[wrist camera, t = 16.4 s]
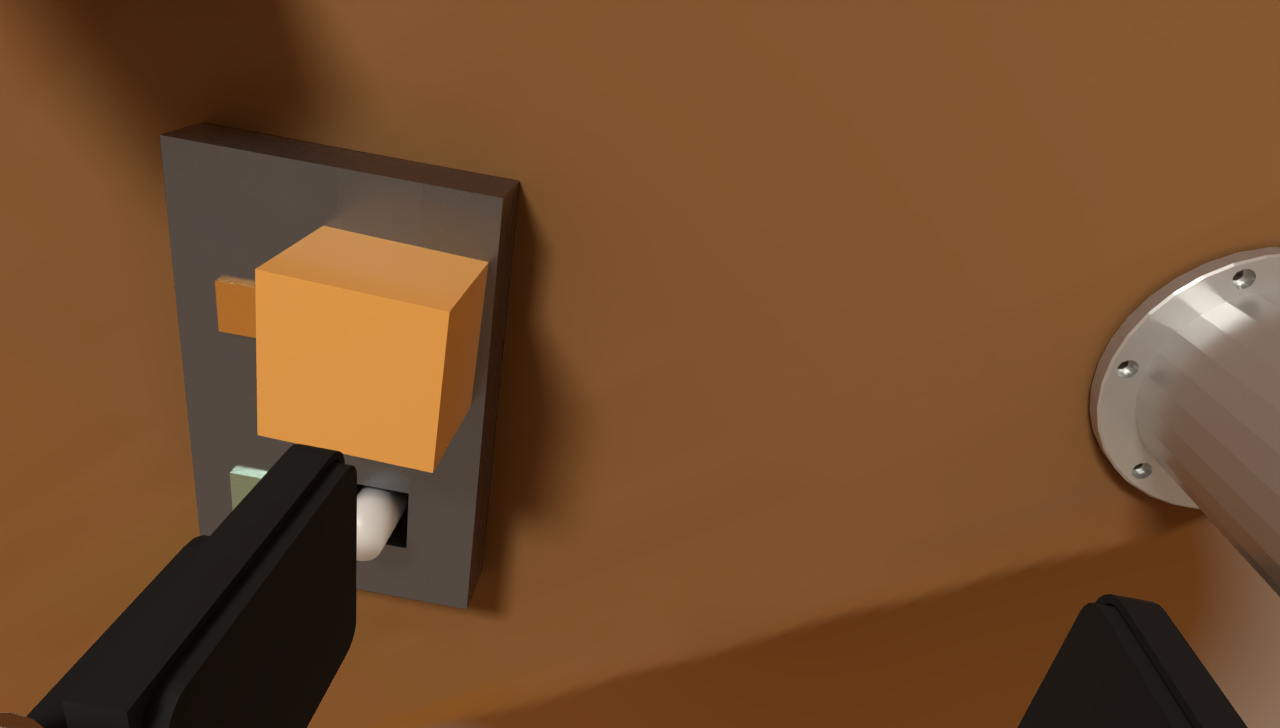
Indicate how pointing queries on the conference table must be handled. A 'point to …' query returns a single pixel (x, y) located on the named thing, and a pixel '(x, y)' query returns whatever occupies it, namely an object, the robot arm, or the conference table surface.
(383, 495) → the plain button
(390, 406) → the cap
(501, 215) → the panel
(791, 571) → the conference table surface
